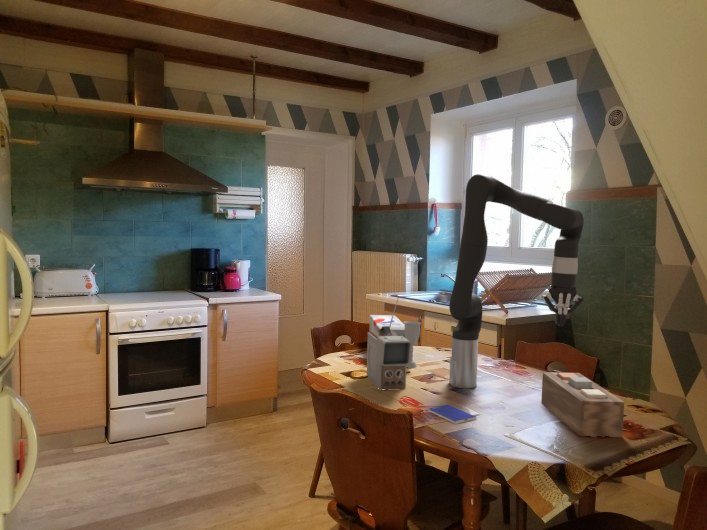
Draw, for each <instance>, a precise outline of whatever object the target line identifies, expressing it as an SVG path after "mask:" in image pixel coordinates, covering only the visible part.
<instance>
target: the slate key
mask: <svg viewBox="0 0 707 530" xmlns="http://www.w3.org/2000/svg"><path fill="white" fill-rule="evenodd" d="M587 378H588V377H587V376H585V377H569V385H570V386H571V387H573V388H574V389H592V382H593V381H592V380H591V379H589V378H588V379H587ZM590 380H591V381H590Z"/></svg>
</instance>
